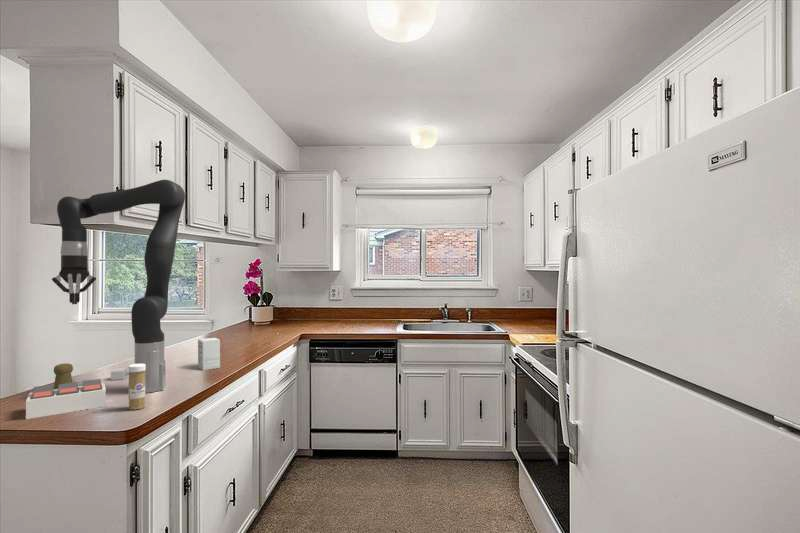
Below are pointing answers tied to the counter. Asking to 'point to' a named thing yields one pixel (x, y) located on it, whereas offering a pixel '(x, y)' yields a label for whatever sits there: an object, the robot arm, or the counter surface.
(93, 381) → the switch
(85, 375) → the counter surface
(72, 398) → the white switch panel
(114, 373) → the usb wall charger
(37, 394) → the switch
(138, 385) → the sprinkles bottle
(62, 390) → the switch middle
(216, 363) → the supplement box
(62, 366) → the cork
